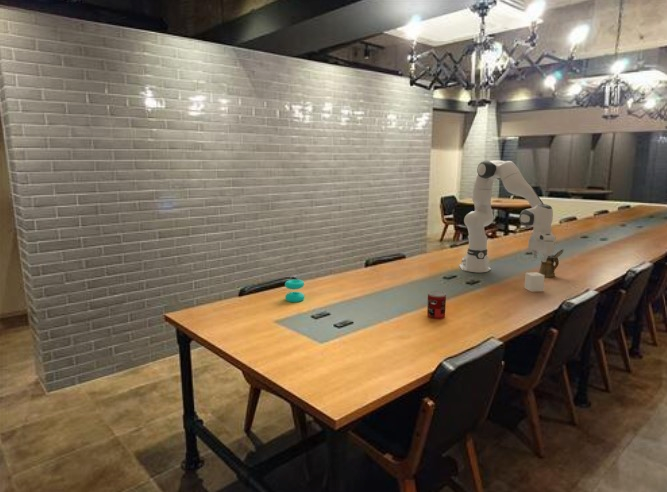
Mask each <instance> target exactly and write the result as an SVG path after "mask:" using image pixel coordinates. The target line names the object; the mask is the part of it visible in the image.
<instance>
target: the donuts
mask: <svg viewBox="0 0 667 492" xmlns="http://www.w3.org/2000/svg"><path fill="white" fill-rule="evenodd" d="M304 286H305V281H304V280H302V279H298V278H297V279H288V280H287V281H285V283H284V287H286V288H287V289H289V290H300V289H302V288H303V287H304ZM284 298H285V301H287V302H291V303H298V302H302V301H304V299H305V298H306V297H305V295H304V292H303V293H302V292H300V291H291V292H290V291H289V292H288V293H286V294H285V297H284Z"/></svg>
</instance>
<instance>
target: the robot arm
mask: <svg viewBox="0 0 667 492" xmlns="http://www.w3.org/2000/svg"><path fill="white" fill-rule="evenodd" d="M476 171H477V173H476V176H475V180H474V183H473V190H472V202H473V205H474V206H473V207H474V211H473V210H472V211H470V212H468V213H466V215H465V216H464V218H463V223H464V225H465V226H466V228H467V231H468V248H467V252H466V253H467V254H465V255H464V256H463V258H462V259H461V263H459V264H458V266H459V268H460V269H461V271H463V272H471V273H487V272H489V271H491V269H492V268H491V267H490V257H488V235H486V231H485V227H488V226H489V225H491V224H492V223H493V221H494V218H495V217H494V214H493V212H492V202H491V201H492V193H493V184H494V182H495V181H496V179H497V180H500V181H501V182H502V185H503V187H504V189H505V190H506V191H507V192H508V193H509V194H511V195H514V196H519V197H522V198H524V199H525V200H526V201H527V202H528V203H529V205H530V207H531V208H526V209H523V210H521V212H520V214H519V217H518V219H519V223H520V224H521V225H522V226H524V227H533V229H532V233H531V234H530V236H529V238H528V245H527V246H528V248H529V249H531V253H532V258H533V259H537V258H538V254H537V252H538V253H540V254H542V258H541V260H542V262H546V260H547V258H548V257H549V256H553V255H554V253H555V246H556V241H557V237H556V236H555V234H554V233H553V232H552V225H553V219H554V218H553V217H554V211H553V210H554V209H553V206H551V205H549V204H545V203H544V202H543V201H542V199H541V198H540V196H539V195H538V193H537V191H536V190H535V189H534V188H533V187H532V186H531V185H530V184H529V183H528V182H527V180H526V179H525V178H524V176H523V174H522V173H521V171H520V169H519V167H518V166H517V165H516V164H515V162H513V161H511V160H500V159H499V160H497V159H495V160H483V161H481V162H480V163H479V164H478V165H477V169H476Z"/></svg>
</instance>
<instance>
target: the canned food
mask: <svg viewBox="0 0 667 492" xmlns="http://www.w3.org/2000/svg"><path fill="white" fill-rule="evenodd" d="M446 301H447V293H446V292H444V291H438V290H432V291H428V293H427V310H426V312H427V317H428V318H430V319H434V320H440V319H441V320H442V319H444V318H445V316H446V307H447V306H446V304H447V303H446Z"/></svg>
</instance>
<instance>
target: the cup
mask: <svg viewBox="0 0 667 492" xmlns="http://www.w3.org/2000/svg"><path fill="white" fill-rule="evenodd" d="M524 276H525V277H524V289H525V290H528V291H529V292H531V293H533V292H534V293H536V292H544V287H545V278H546V277H545V276H544V275H542V274H540V273H539V272H534V271H533V272H525V275H524Z"/></svg>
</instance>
